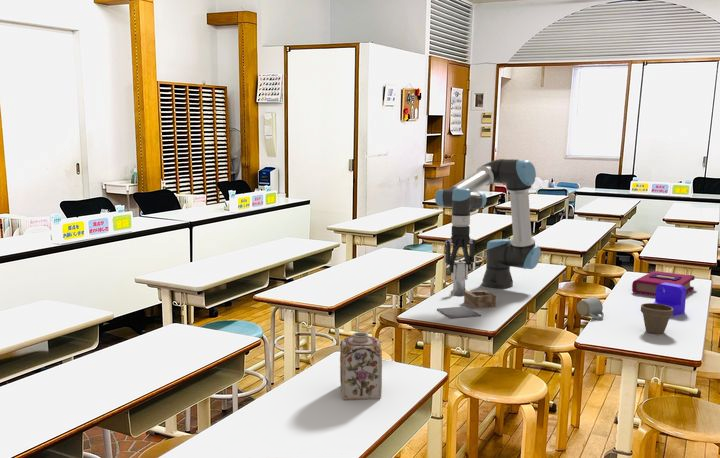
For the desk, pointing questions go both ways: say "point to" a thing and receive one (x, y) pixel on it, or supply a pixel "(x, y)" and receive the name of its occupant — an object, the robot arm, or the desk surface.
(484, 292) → the bore block
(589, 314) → the ceramic mug
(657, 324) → the flower pot
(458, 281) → the plug
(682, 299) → the bracket
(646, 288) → the book
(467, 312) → the mat
